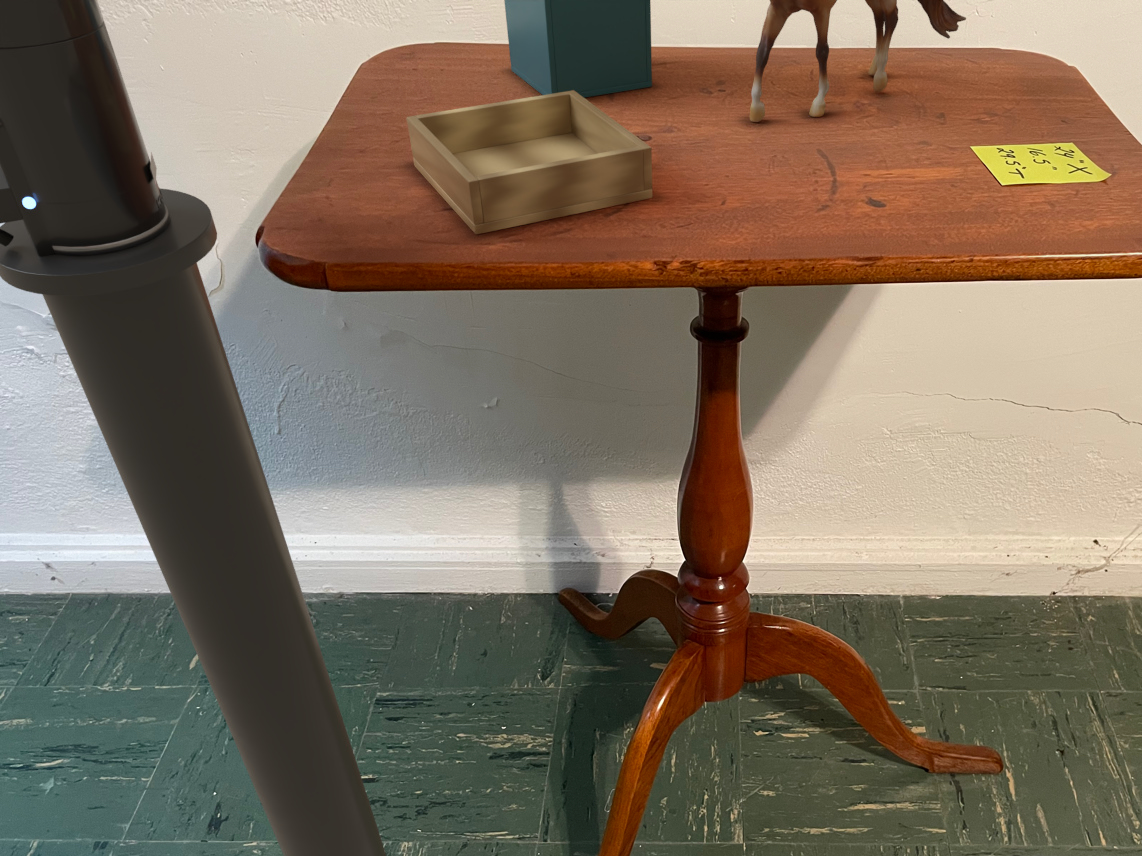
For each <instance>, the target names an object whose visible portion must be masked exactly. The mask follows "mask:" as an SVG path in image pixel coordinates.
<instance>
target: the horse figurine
mask: <svg viewBox="0 0 1142 856" xmlns="http://www.w3.org/2000/svg"><path fill="white" fill-rule="evenodd" d="M837 1H838V0H769V6H768V7H767V10H766V16H765V18H764V22H763V25H762V29H761V35H760V41H759V43H758V46H757V50H756V55H755V72H754V77H753V82H752V87H751V104H750V105H749V106H750V107H749V114H748V115H749V121H750V122H753V123H758V122H761V121H762V120H763V119H764V118H765V115H766V107H765V103H764V102H762V100H761V97H762V95H763V90H762V84H763V75H764V72H765V68H766V66H767V64H768V61H769V59H770V54H771V50H772V49H773V47H774V45H775V43H776V40H777V38H778V37H779V35H780V33H781V31H782V30H783V28H784V26H785V24H786V22H787V20H788V19H789V17H791V15H793V14H795V13H798V12H800V11H805V12H808V13H810V14H811V15H812V18H813V23H814V25H815V30H816V37H817V41H816V45H815V57H816V60H817V62H818V74H819V75H818V91H817V92H818V93H817V95H816V96H815V98H814V99H813V101H812V102H811V106H810V108H809V113H808V115H809V116H810V117H812V118H820V117H822V116H824V114H825V110H826V106H827V105H826V101H825V98H826V95H827V94H828V92H829V90H830V81H829V77H828V59H829V56H830V55H829V54H830V45H829V43H828V36H829V35H828V34H829V27H830V18H831V17H830V16H831V11H832V9H833V7H834V6H835V5H836V3H837ZM864 1H865V3H866V4H867V6H868V7H869V8H870V9H871V12H872V14H873V20H874V26H875V52H874V53H875V54H874V57H873V58H872V61H871V63H870V66H869V69H868V72H867V74H868V76H873V81H872V91H873V92H874V93H876V94H877V93H881V92H883V91H884V90H885V89H886V88H887V85H888V81H889V80H888V74H887V72H886V71H885V70H886V66H887V64H888V62H889V61H888V60H889V49H890V45H891V41H892V37H893V35H894V32H895V30H896V28H897V25H898V22H899V8H898V5H897V4H898V0H864ZM916 1H917V2H918V3H919V4H920V6H921V7H922V9H923V11H924V12H925V14H926V15H927V18H928V21H929V23H930V25H931V28H932V29H933V30H934V31H935V32H936V33H938V34H939V35H940V36H941V37H944V38H946V39H948V40H949V39H950V38H951V36H950V35H949V33H952V32H957V31H958V30H959V27H960V25H958V23H959V22H963V21H966V20H967V17H965V16H963V15H961V14H958V13H957V12H956V11H954V10H953V9H952V8H951V7H950V5H949V4H948V3H947V2H946V1H945V0H916ZM948 32H949V33H948Z"/></svg>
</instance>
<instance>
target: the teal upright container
mask: <svg viewBox="0 0 1142 856" xmlns="http://www.w3.org/2000/svg"><path fill="white" fill-rule="evenodd" d="M651 7H652V6H651V0H504V10H505V11H504V12H505V17H506V18H505V20H506V30H507V40H508V51H509V60H510V69H511V70H510V71H511V72H513V74H515V75H516V76H517V77H519V78H520V79H521V80H523V81H524V82H525V83H527V84H528V85H529V86H530V87H532V88H533V89H534V90H536V91H537V92H538V93H539V94H541V95H547V94H553V93H560V92H567V91H572V90H574V91H576V92H577V93H578V94H580V95H581V96H582V97H584V98H585V99H586V98H591V97H597V96H598V97H599V96H603V95H610V94H616V93H621V92H627V91H634V90H641V89H646V88H651V87H653V63H652V21H651V20H652V16H651V15H652V13H651V11H652V10H651Z"/></svg>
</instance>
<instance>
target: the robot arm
mask: <svg viewBox="0 0 1142 856" xmlns="http://www.w3.org/2000/svg"><path fill="white" fill-rule="evenodd" d="M100 7H101V6H100V4H99V2H98V0H0V224H4V223H6V222H12V221H18V220H23V222H24V224H25V227H26V229H27V232H28V234H29V236H30V239H31V241H32V243H33V246H34V248H35V251H36V253H37V255H38V256H39V257H43V256H48V255H56V254H57V255H69V256H85V255H97V254H105V253H110V252H116V251H120V250H124V249H127V248H131V247H134V246H137V245H139V244H142V243H144V242H146V241H149V240H151V239H152V238H154V237H156V236H157V235H159V234H160V233H162V232H163V231H164V230H165V229H166V228H167V226H168V225H169V223H170V216H169V213H168V210H167V207H166V205H165V204H164V202H163V197H162V194H161V191H160V189H161V188H160V187H159V183H158V180H157V165H156V162H155V159H154V156H153V153H152V151H151V152H150V156H149V154H148V150H147V148H146V144H145V141H144V139H143V135H142V132H141V130H140V126H139V123H138V121H137V117H136V114H135V110H134V107H133V104H132V102H131V98H130V96H129V93H128V90H127V86H126V83H125V81H124V77H123V74H122V71H121V68H120V66H119V63H118V62H119V61H118V59H117V57H116V53H115V50H114V47H113V44H112V41H111V37H110V35H109V32H108V28H107V26H106V23H105V20H104V16H103V14H102V10H101V8H100ZM13 238H14V236H13V235H11V234H10V233H8V232H6V231H4V230H2V229H0V244H2V245H4V246H5V247H6V246H7V245H9V244H10V243H11V241H12V240H13Z"/></svg>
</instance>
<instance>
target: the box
mask: <svg viewBox="0 0 1142 856" xmlns="http://www.w3.org/2000/svg"><path fill="white" fill-rule="evenodd" d="M405 119H406V124H407V129H408V136H409V141H410V148H411V153H412V154H411V155H412V161H413V165H414V167H415V168H416V170H417V171H418V172H419V173H420V174H421V175H422V176H423V178H424V179H426V181H427V182H428V183H429V184H430V185H431V186H432V187H433V188H434V190H435V191H436V193H438V194H439V195H440V196H441V197H442V199H443V200H444V201H445V203H447V204H448V205H449V207H450V208H451V209H452V210H453V211H454V212H455V213H456V215H457V216H459V217H460V219H461V220H462V221H463V222H464V223H465V224H466V226H468V228H469V229H470V230H471V231H472V232H473V233H474V234H475V235H482V234H485V233H490V232H495V231H500V230H506V229H509V228H514V227H519V226H525V225H530V224H533V223H539V222H544V221H548V220H552V219H558V218H562V217H567V216H572V215H577V214H582V213H587V212H591V211H597V210H601V209H606V208H610V207H615V206H616V207H617V206H621V205H625V204H630V203H634V202H640V201H646V200H649V199H653V156H652V155H653V154H652V150H653V149H652V147H651V146H650V145H648V144H647V143H646V142H645V141H643V140H642V139H641V138H639V137H638V136H636V135H635V133H633V132H631V131H629V130H628V129H627V128H626V127H624V126H623V125H622V124H621V123H619V122H618V121H616V120H615V119H614V118H612V117H611V116H609V115H608V114H607V113H605V112H604V111H603V110H601V109H600V108H598V107H597V106H596V105H595V104H593V102H590V101H589V100H588V99H586V97H585V98H584V97H582V96H581V95H580V94H578V93H577V92H576V91H574V90H572V91H567V92H560V93H553V94H547V95H542V94H541V95H536V96H530V97H529V96H528V97H523V98H516V99H510V100H504V101H497V102H492V103H491V102H490V103H485V104H479V105H472V106H466V107H460V108H459V107H458V108H454V109H447V110H439V111H435V112H428V113H423V114H417V115H416V114H415V115H411V116H406V118H405Z"/></svg>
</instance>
